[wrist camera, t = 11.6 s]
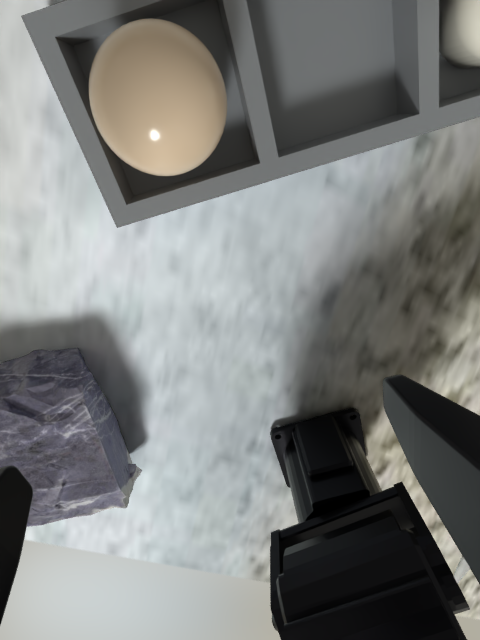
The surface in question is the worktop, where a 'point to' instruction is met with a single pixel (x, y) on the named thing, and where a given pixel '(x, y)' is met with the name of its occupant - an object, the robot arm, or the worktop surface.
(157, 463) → the worktop surface
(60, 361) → the rock
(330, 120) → the carton
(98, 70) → the seated egg
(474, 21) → the egg
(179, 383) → the worktop surface
